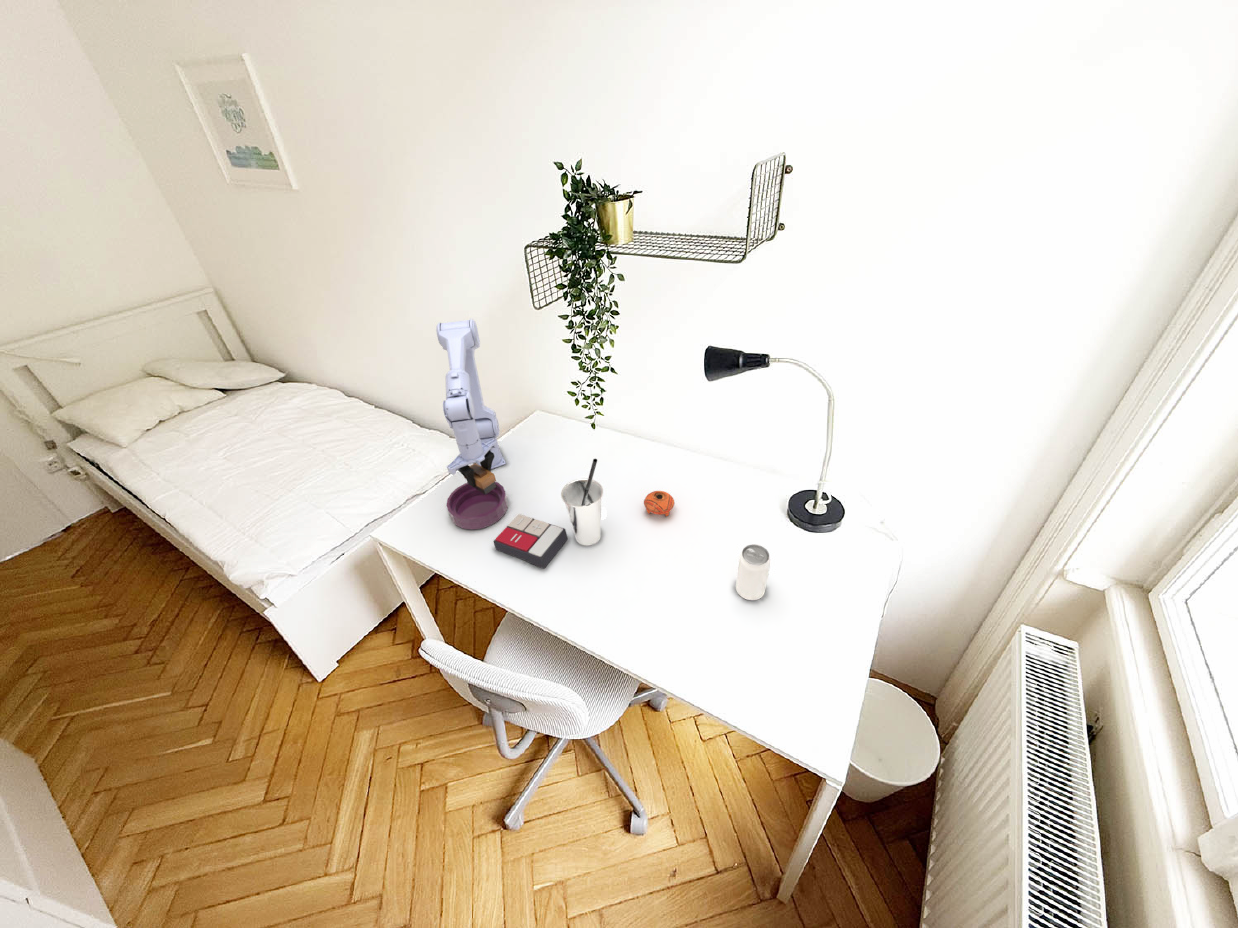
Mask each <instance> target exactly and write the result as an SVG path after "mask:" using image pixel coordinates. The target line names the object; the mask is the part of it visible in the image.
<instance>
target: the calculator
mask: <svg viewBox="0 0 1238 928" xmlns="http://www.w3.org/2000/svg"><path fill="white" fill-rule="evenodd" d="M567 541H568V534H567V529H566V528H564V527H561V526H558V525H555V524H552V523H549V522H545V521H542V520H539V519H537V518H534V517H530V516H527V515H525V514H522V513H521V514H520V513H518V514H517V515H516V516H515V517H514V518H513V519H512V520H511V521H510V522H509V524H508V525H507V526H506V527H504V529H503V530H502V531H501V532H500V533H499V534H498V535H497V536H496V537H495V539H493V545H494V547H495V550H496V551H499V552H500V553H501V552H502V553H504V554H507V555H509V556H512V557H514V558H518V559H521V560H523V561H526V562H528V563H529V564H530V565H533V566H536V567H538V568H540V569H545V568H546V567H547V566H548V565H549V563H550V562H551V561H552V560H553V558H554V557H555V556H556V555H557V553H558V552H559V551H560V549H561V548H562V547H563V546H564V545H565V543H567Z"/></svg>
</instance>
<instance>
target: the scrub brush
mask: <svg viewBox="0 0 1238 928" xmlns="http://www.w3.org/2000/svg"><path fill="white" fill-rule="evenodd" d="M469 466H470V468H472V469H474V479H475V482H476V487H473V488H475V489H477V490H478V491H480V492H481V493H483V494H485V495H486V494H487V493H489V492H490V491H491V490H493V489H494V488H496V484H495V482H497V479H496V475H495V473H494V472H492V471H491V472H490V471H488V470H487V469H485V468H483V467H482V466H480V465H478V464H477V463H476V462H474V463H472V464H470V465H469ZM463 478H464V479H465V480H466V478H465V477H464V476H463ZM466 483H468V481H467V480H466ZM468 484H469V483H468ZM470 486H471V485H470Z"/></svg>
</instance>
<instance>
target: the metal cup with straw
mask: <svg viewBox="0 0 1238 928" xmlns="http://www.w3.org/2000/svg"><path fill="white" fill-rule="evenodd" d="M597 464H598V459H597V458H593V459H592V462H591V466H590V471H589V474H588V478H576V479H574V480H571V481H569V482H567V483H566V484H565V485H564V486H563V487H562V489H561V492H560V498H561V500H562V501H563V503H564V504H565V508H566V512H567V515H568V518H569V521H570V523H571V526H572V530H573V533H574V534H573V535H574V538H575V541H576V542H577V543H578V544H579V545H581V546H585V547H586V546H588V547H589V546H592V545H596V544H597V543H598V542H599V541H600V540H601V536H602V535H601V534H602V533H601V529H602V528H601V526H602V525H601V523H602V522H601V520H602V497H603V495H604V488H603V486H602V484H601V483H600V482H598V481H597V480H594V479H593V477H594V474H595V472H596V467H597Z"/></svg>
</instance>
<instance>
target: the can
mask: <svg viewBox="0 0 1238 928" xmlns="http://www.w3.org/2000/svg"><path fill="white" fill-rule="evenodd" d="M737 565H738V566H737V573H736V580H735V581H736V582H735V590H736V592H737V594H738V595H739V596H740V597H741V598H742V599H745V600H747V601H758V600H760V599H761V598H762V597H764V595H765V592H766V588H767V584H768V577H769V572H770V567H771V558H770V553H769V551H768V549H767V548H765V546H762V545H760V544H756V543H755V544H748V545H746V546H744V547H743V549H742V551H741V552H740V554H739V558H738V564H737Z"/></svg>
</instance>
